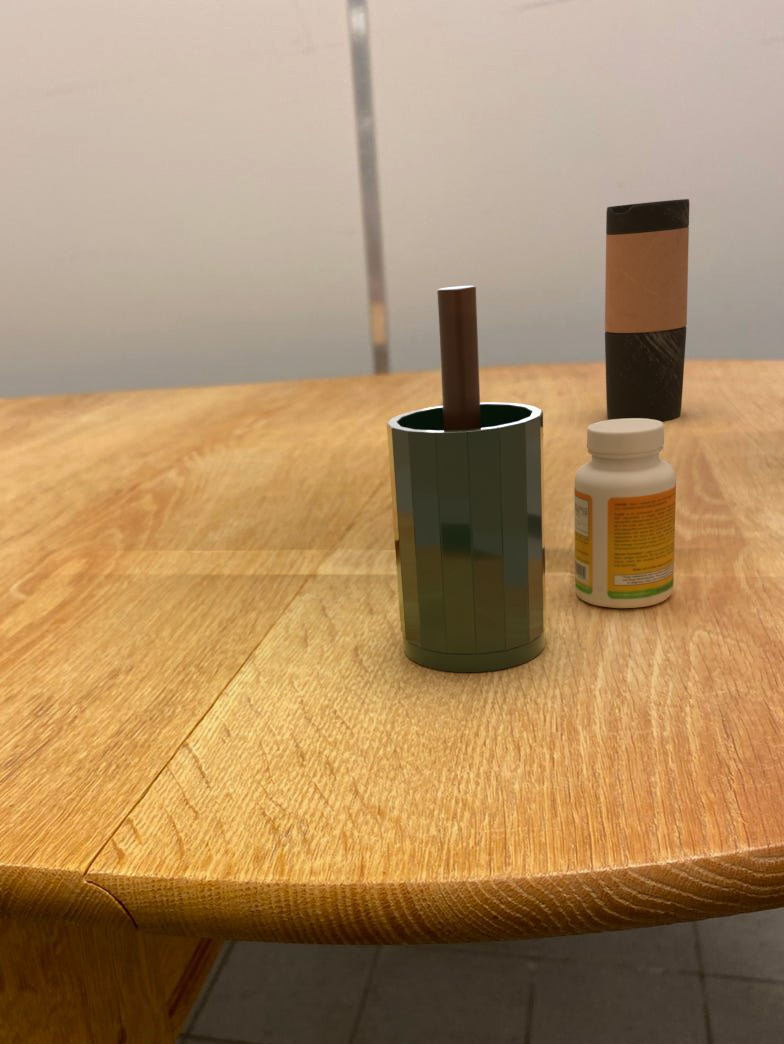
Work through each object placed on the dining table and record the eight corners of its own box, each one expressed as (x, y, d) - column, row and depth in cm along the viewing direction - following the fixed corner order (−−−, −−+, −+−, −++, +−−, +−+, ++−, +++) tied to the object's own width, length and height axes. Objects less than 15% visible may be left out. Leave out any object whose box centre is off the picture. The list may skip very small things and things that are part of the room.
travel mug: (680, 407, 110) (686, 198, 102) (687, 421, 103) (694, 198, 96) (603, 411, 112) (604, 207, 104) (605, 425, 105) (606, 207, 97)
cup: (551, 620, 58) (548, 399, 54) (538, 675, 52) (533, 428, 47) (418, 618, 60) (405, 406, 56) (389, 670, 54) (372, 435, 50)
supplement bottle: (690, 588, 61) (696, 417, 57) (643, 617, 57) (647, 437, 54) (605, 573, 64) (606, 412, 61) (556, 600, 61) (554, 431, 57)
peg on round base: (513, 613, 57) (504, 280, 51) (504, 642, 53) (494, 287, 47) (439, 613, 58) (421, 287, 52) (426, 640, 54) (405, 294, 48)
